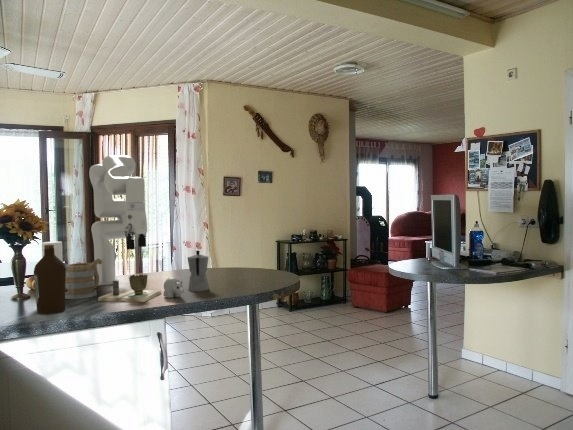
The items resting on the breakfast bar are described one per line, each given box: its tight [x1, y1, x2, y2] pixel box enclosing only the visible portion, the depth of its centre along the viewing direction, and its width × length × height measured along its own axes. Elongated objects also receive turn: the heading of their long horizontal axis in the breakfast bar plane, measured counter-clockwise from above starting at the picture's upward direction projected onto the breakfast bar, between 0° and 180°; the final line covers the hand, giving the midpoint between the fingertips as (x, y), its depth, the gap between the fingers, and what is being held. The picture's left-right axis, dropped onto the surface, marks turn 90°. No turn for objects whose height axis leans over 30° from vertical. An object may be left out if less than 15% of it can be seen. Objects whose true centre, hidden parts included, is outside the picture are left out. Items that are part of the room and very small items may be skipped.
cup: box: [128, 273, 149, 295], centre depth 186 cm, size 8×7×8 cm
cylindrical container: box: [41, 241, 64, 263], centre depth 178 cm, size 7×7×25 cm
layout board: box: [97, 279, 162, 303], centre depth 189 cm, size 20×16×8 cm
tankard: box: [65, 259, 102, 300], centre depth 197 cm, size 20×13×15 cm, turn 160°
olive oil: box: [33, 245, 67, 315], centre depth 166 cm, size 11×11×25 cm
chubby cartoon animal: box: [163, 276, 185, 299], centre depth 186 cm, size 7×12×8 cm, turn 40°
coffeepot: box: [186, 250, 210, 293], centre depth 202 cm, size 15×9×18 cm, turn 10°
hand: (136, 248), depth 185 cm, fingers open, 9 cm apart
